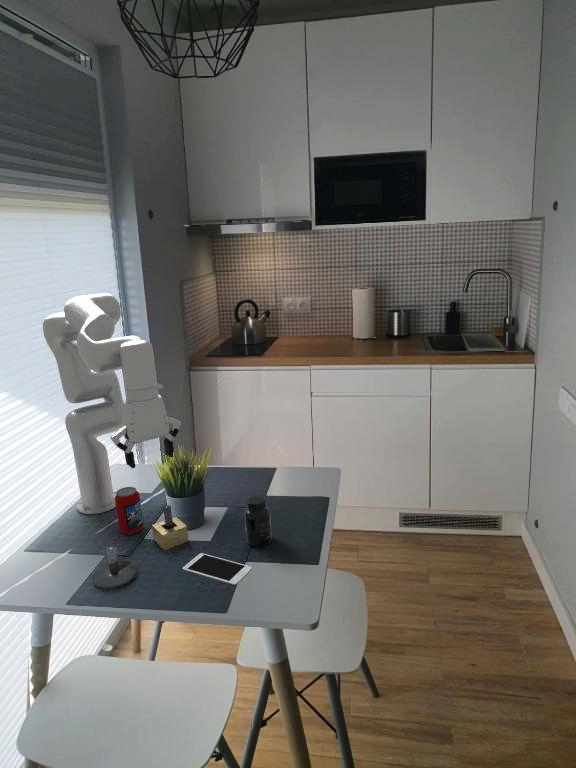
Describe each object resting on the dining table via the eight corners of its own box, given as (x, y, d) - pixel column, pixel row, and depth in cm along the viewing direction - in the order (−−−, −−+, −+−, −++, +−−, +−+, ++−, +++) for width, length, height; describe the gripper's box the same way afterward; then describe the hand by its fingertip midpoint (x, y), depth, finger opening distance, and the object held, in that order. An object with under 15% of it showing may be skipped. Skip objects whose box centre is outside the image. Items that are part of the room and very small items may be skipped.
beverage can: (137, 536, 163) (132, 496, 160) (115, 535, 164) (109, 496, 161) (148, 524, 169) (142, 486, 166) (126, 523, 171) (120, 485, 167)
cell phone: (235, 586, 139) (235, 584, 138) (181, 570, 146) (181, 568, 146) (253, 569, 145) (253, 566, 145) (200, 554, 153) (200, 552, 153)
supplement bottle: (241, 542, 157) (237, 500, 154) (259, 531, 162) (256, 491, 158) (259, 550, 152) (255, 508, 149) (277, 539, 157) (274, 498, 154)
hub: (88, 576, 145) (83, 547, 143) (127, 561, 151) (123, 533, 149) (102, 595, 138) (97, 564, 135) (143, 578, 143) (138, 549, 141)
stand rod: (166, 540, 160) (162, 506, 157) (172, 537, 161) (168, 504, 158) (169, 543, 158) (165, 509, 156) (176, 540, 159) (172, 507, 157)
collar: (153, 540, 161) (151, 525, 159) (177, 531, 164) (175, 516, 163) (164, 550, 155) (162, 535, 154) (188, 541, 159) (187, 526, 158)
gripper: (169, 383, 147) (177, 448, 151) (100, 398, 137) (110, 466, 142) (182, 388, 141) (190, 456, 145) (111, 404, 131) (121, 475, 136)
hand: (150, 461), depth 143 cm, fingers open, 9 cm apart
